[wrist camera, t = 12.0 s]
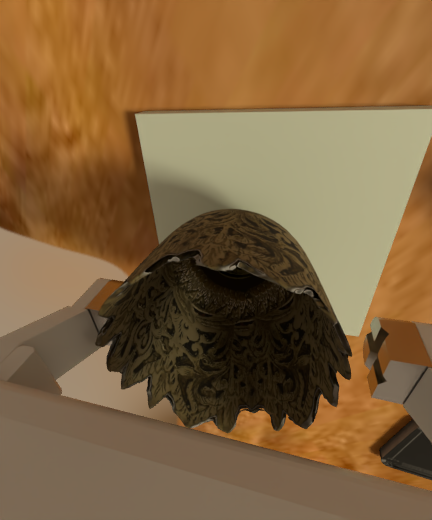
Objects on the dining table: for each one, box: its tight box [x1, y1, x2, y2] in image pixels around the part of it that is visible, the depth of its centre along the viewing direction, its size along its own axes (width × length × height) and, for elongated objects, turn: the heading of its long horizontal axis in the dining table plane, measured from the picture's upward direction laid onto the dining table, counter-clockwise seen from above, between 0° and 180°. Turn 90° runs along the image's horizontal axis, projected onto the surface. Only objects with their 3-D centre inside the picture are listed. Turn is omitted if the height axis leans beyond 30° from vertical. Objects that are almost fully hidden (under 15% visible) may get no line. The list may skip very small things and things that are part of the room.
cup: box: [95, 209, 352, 433], centre depth 11 cm, size 8×7×8 cm
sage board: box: [135, 106, 432, 336], centre depth 15 cm, size 12×12×1 cm
